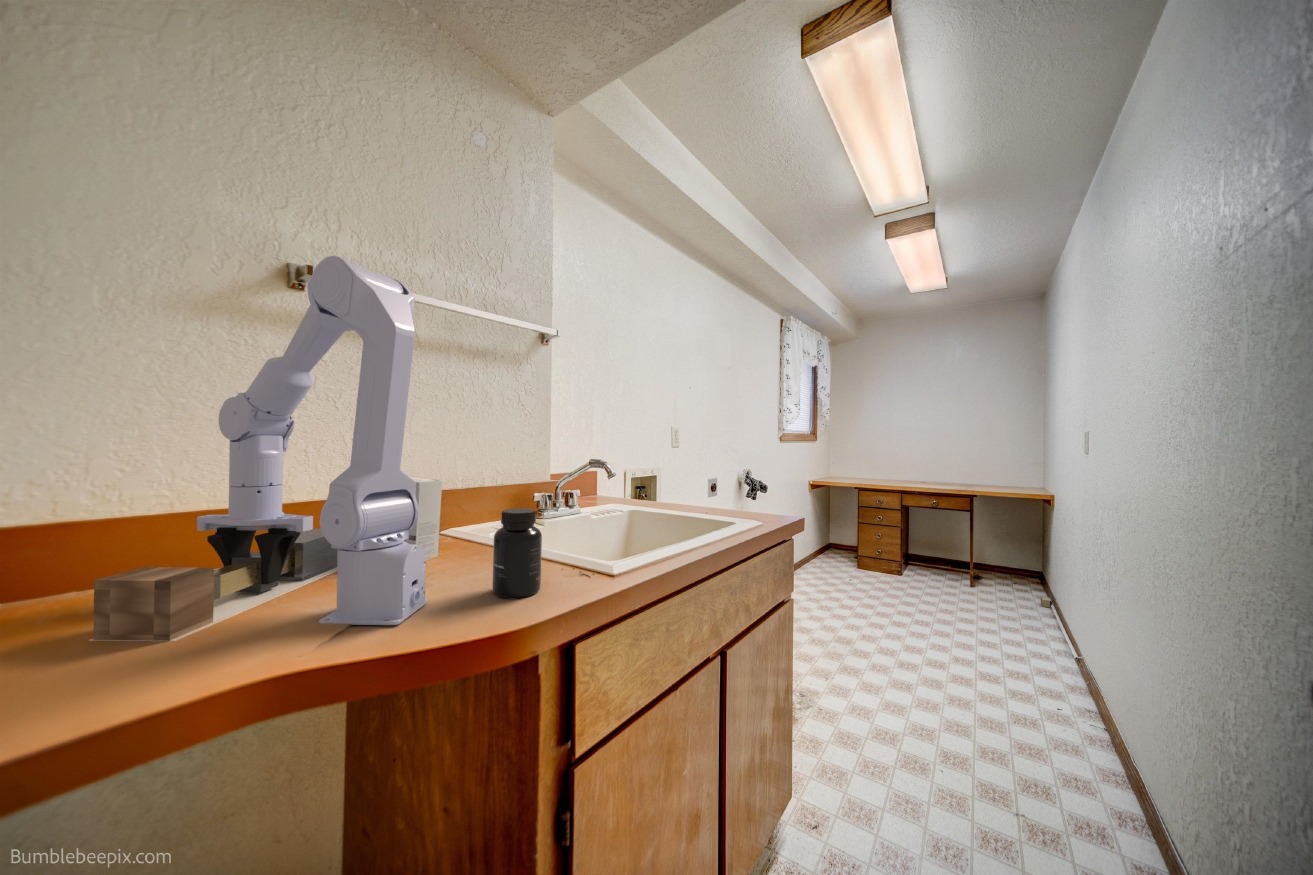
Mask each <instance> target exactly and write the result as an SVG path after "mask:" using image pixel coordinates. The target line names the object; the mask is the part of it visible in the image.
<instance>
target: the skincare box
mask: <svg viewBox="0 0 1313 875" xmlns="http://www.w3.org/2000/svg"><path fill="white" fill-rule="evenodd" d="M409 477H410V476H409ZM410 478H411V479H413V480H414V481H415V482H416V490H415V495H416V500H417V503H418V508H419V514H418V520H417V522H416V524H415V526H414V527H413V528H412V529H411V530H410V531H409V533H408V539H406V540H404V542H406V543H408V544H413V545H419V546H421V547H422V548H423V550H424V552H425V557H426V561H428V560H429V559H433V558H434V559H435V558H436V557H438V556H439V540H440V525H441V524H440V523H441V510H442V509H441V508H442V493H443V492H442V491H443V490H442V489H443V480H440V479H431V478H425V477H424V478H423V477H413V476H412V477H410Z"/></svg>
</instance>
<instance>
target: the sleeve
mask: <svg viewBox="0 0 1313 875" xmlns="http://www.w3.org/2000/svg"><path fill="white" fill-rule="evenodd" d="M292 547H295V570H292V571H289V572H287V573H284V574H281V576H280V579H279V580H278V581H305V580H307V579H310V578H312V577H314V576H317V575H319V574H322V573H324V572H326V571H329V570H331V569H334V568H336V567H337V549H335V548H331V544H330V543H329V542H328V541H327V540H326V538H325V537H324V535H323V533H322V531H321V528H313V529H312V530H308V531H305V532H300V536H299V537H298V538H297V540H296V541H295V543H294V544H293V546H292Z"/></svg>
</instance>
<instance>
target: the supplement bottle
mask: <svg viewBox="0 0 1313 875" xmlns="http://www.w3.org/2000/svg"><path fill="white" fill-rule="evenodd" d="M536 522H537V519H536V510H535V509H533V508H525V507H523V508H522V507H520V508H519V507H518V508H517V507H516V508H515V507H514V508H506V509H504V510H502V511H501V520H500V524H501V525H502V527H501V528H499V529H497V530H496V532H495V533H494V534H493V548H492V549H493V551H492V552H493V554H492V593H493V594H494V595H495V596H496V597H498V598H501V599H507V598H517V599H522V598H521V597H524V598H527V597H526V596H529V597H531V596H530V595H532V596H534V595H536V594H537V593H538V592H539V591H540V589H541V581H542V550H543V549H542V546H543V545H542V544H543V542H542V541H543V535H542V531H541V530H540V529H539V528H538V527H536V526H535V524H536ZM535 593H536V594H535ZM533 594H534V595H533Z"/></svg>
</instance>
